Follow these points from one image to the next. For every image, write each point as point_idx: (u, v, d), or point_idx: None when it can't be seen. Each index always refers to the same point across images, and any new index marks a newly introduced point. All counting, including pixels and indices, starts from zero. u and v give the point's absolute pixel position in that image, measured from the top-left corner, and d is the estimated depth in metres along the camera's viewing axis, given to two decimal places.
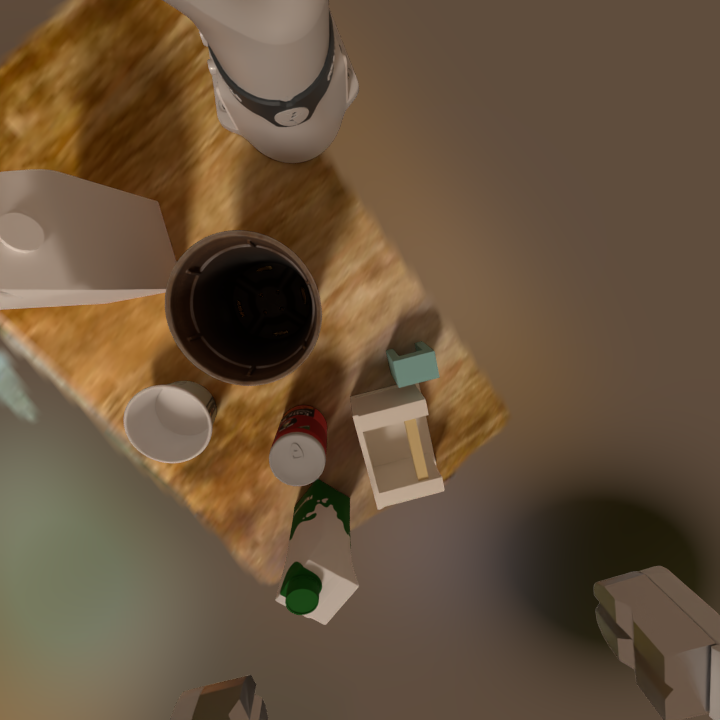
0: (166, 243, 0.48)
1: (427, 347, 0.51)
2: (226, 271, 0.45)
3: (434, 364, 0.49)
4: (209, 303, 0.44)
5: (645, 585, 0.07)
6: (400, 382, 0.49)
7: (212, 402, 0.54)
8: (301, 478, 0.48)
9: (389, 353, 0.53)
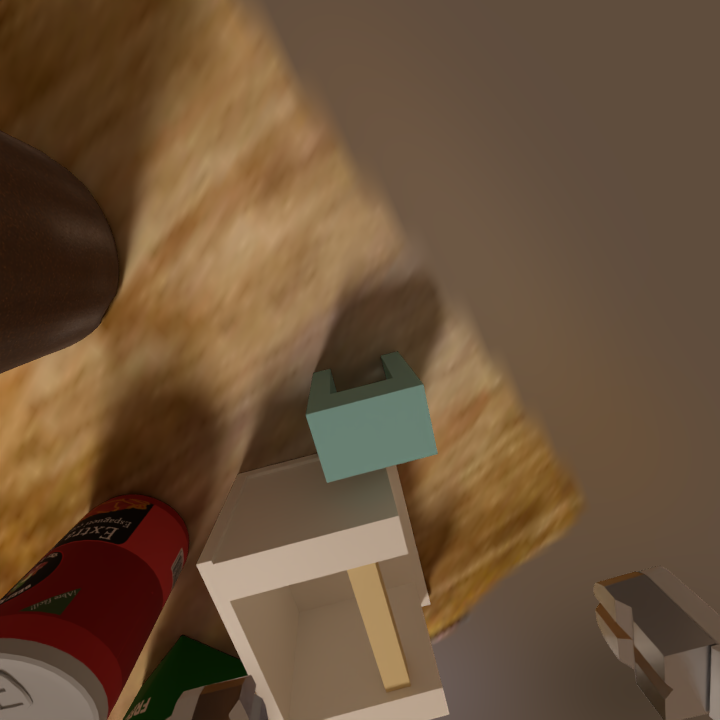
0: None
1: (406, 370, 0.20)
2: None
3: (423, 420, 0.18)
4: None
5: (645, 585, 0.07)
6: (330, 468, 0.18)
7: None
8: None
9: (315, 382, 0.22)
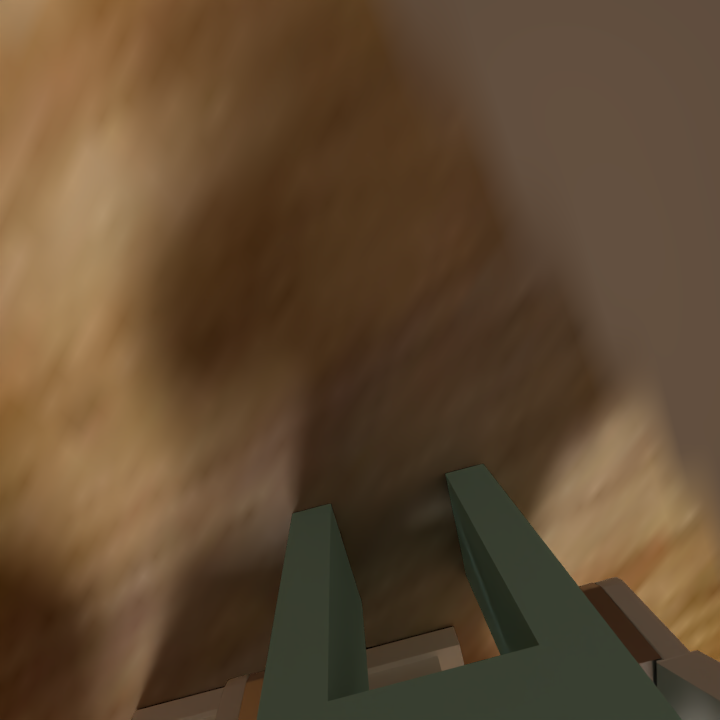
0: None
1: (566, 594, 0.06)
2: None
3: None
4: None
5: (599, 597, 0.07)
6: None
7: None
8: None
9: (292, 573, 0.08)
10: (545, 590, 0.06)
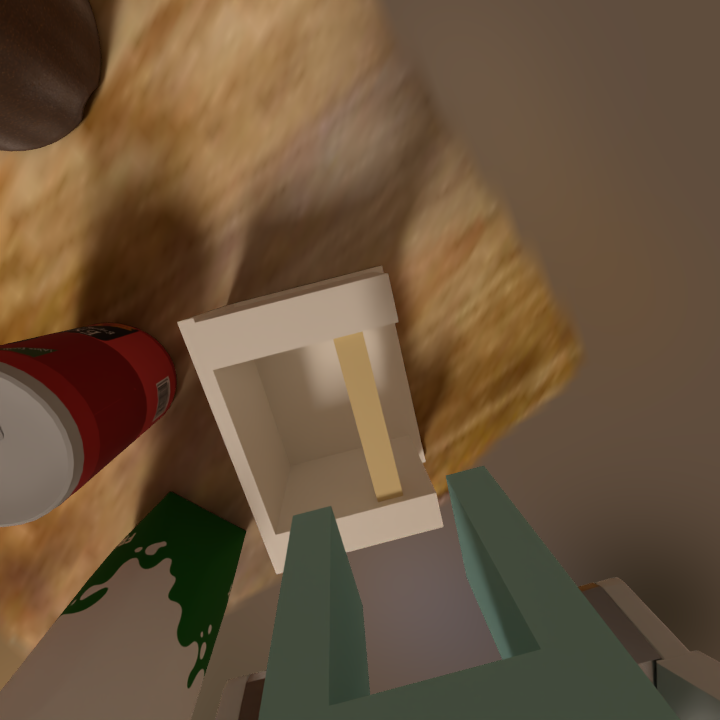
0: None
1: (568, 597, 0.06)
2: None
3: None
4: None
5: (599, 597, 0.07)
6: None
7: None
8: (10, 502, 0.16)
9: (292, 576, 0.08)
10: (547, 594, 0.06)
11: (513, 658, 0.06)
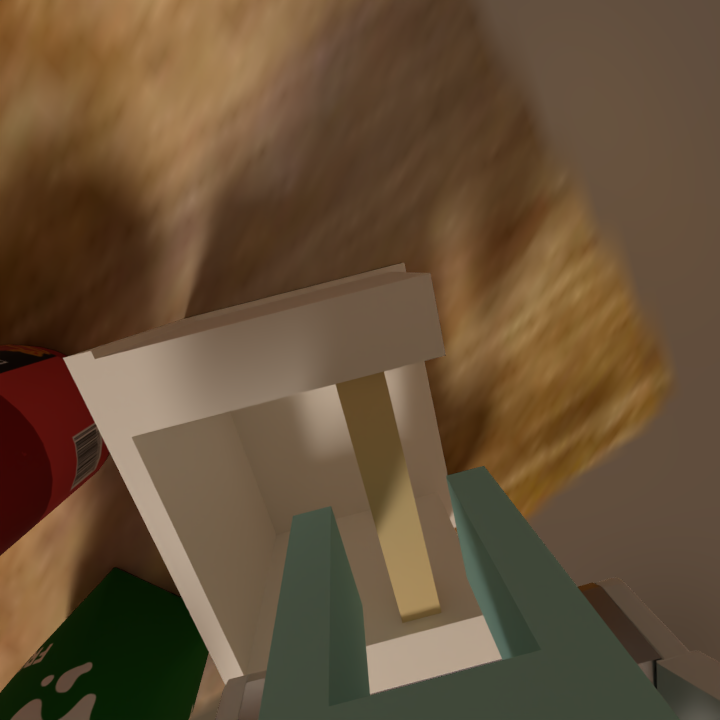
0: None
1: (568, 598, 0.06)
2: None
3: None
4: None
5: (599, 597, 0.07)
6: None
7: None
8: None
9: (292, 576, 0.08)
10: (547, 594, 0.06)
11: (513, 658, 0.06)
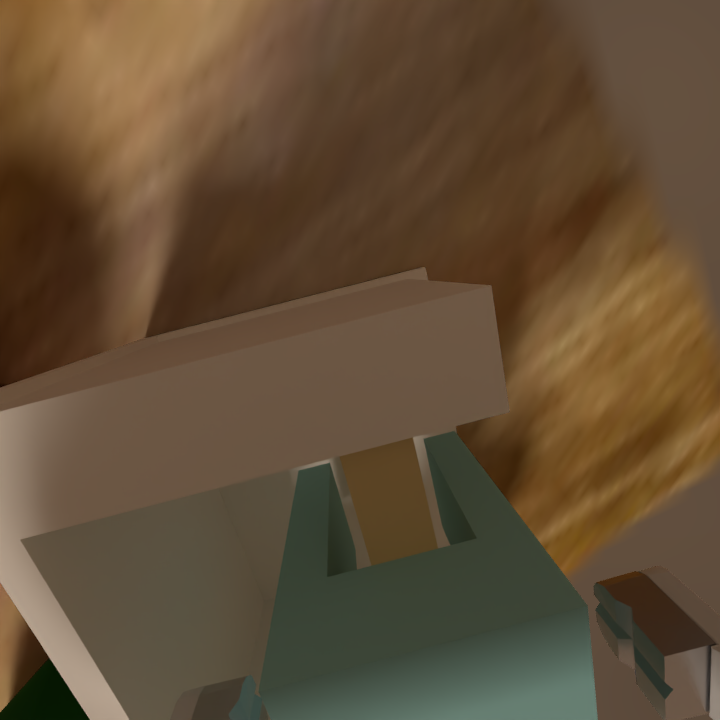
0: None
1: (501, 509, 0.09)
2: None
3: (576, 686, 0.07)
4: None
5: (645, 585, 0.07)
6: None
7: None
8: None
9: (299, 508, 0.11)
10: (487, 508, 0.09)
11: (456, 543, 0.08)
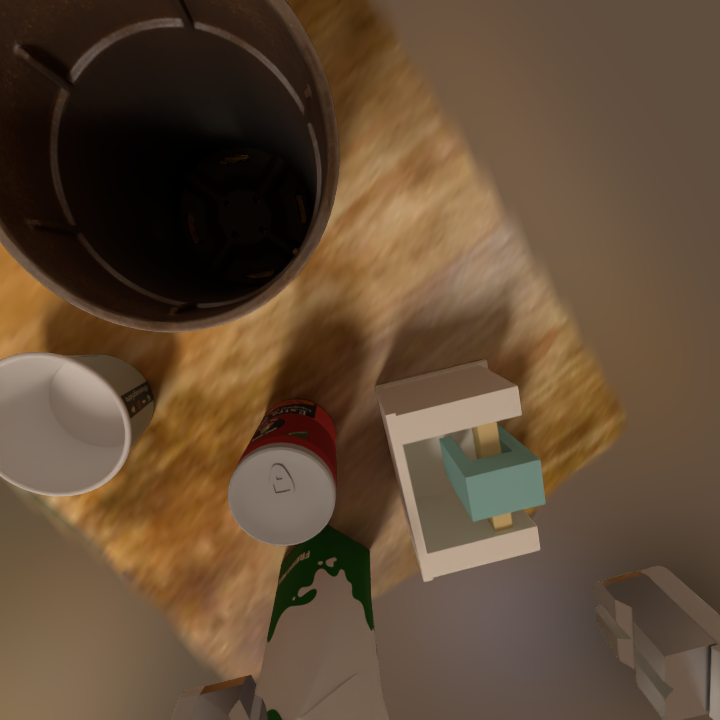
0: None
1: (518, 444, 0.29)
2: (154, 134, 0.24)
3: (538, 482, 0.27)
4: (116, 187, 0.23)
5: (645, 585, 0.07)
6: (476, 512, 0.27)
7: (143, 391, 0.32)
8: (289, 530, 0.25)
9: (448, 448, 0.31)
10: (514, 444, 0.29)
11: (506, 452, 0.29)
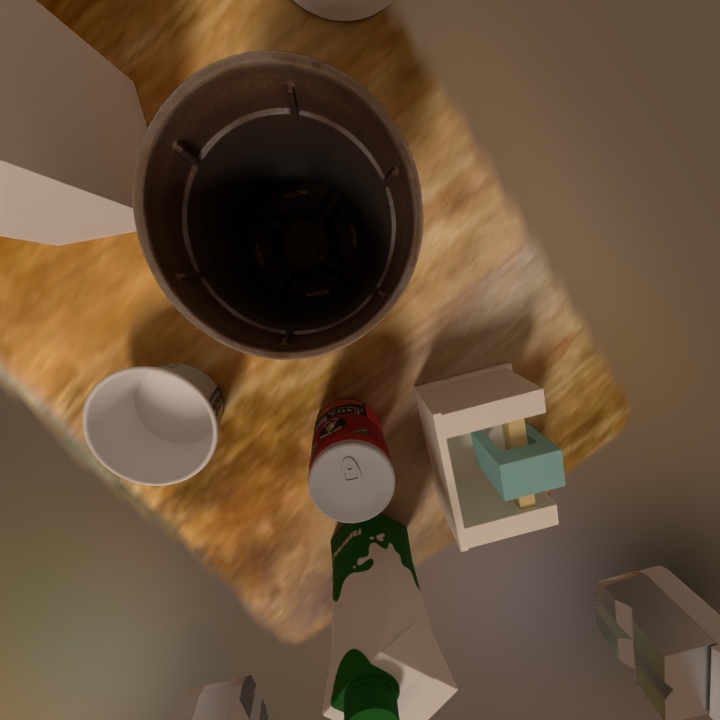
0: None
1: (542, 436, 0.35)
2: (241, 183, 0.28)
3: (559, 468, 0.33)
4: (215, 231, 0.27)
5: (645, 585, 0.07)
6: (507, 493, 0.33)
7: (217, 395, 0.37)
8: (356, 510, 0.31)
9: (481, 440, 0.37)
10: (538, 437, 0.35)
11: (532, 443, 0.34)
